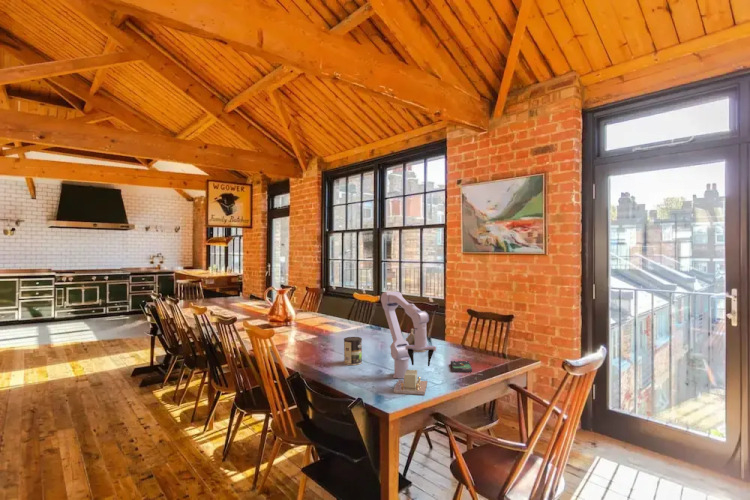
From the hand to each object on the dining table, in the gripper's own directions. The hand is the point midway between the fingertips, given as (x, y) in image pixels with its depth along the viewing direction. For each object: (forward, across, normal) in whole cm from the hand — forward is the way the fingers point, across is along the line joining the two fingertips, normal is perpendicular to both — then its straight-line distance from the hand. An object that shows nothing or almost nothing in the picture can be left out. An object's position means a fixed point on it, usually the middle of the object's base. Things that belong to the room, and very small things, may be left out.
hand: (420, 365), depth 201 cm
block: (+8, -4, -7) cm, 11 cm away
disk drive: (+10, +19, +31) cm, 38 cm away
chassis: (+9, -4, -6) cm, 12 cm away
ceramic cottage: (+10, -10, +70) cm, 71 cm away
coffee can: (+10, -42, +31) cm, 53 cm away
